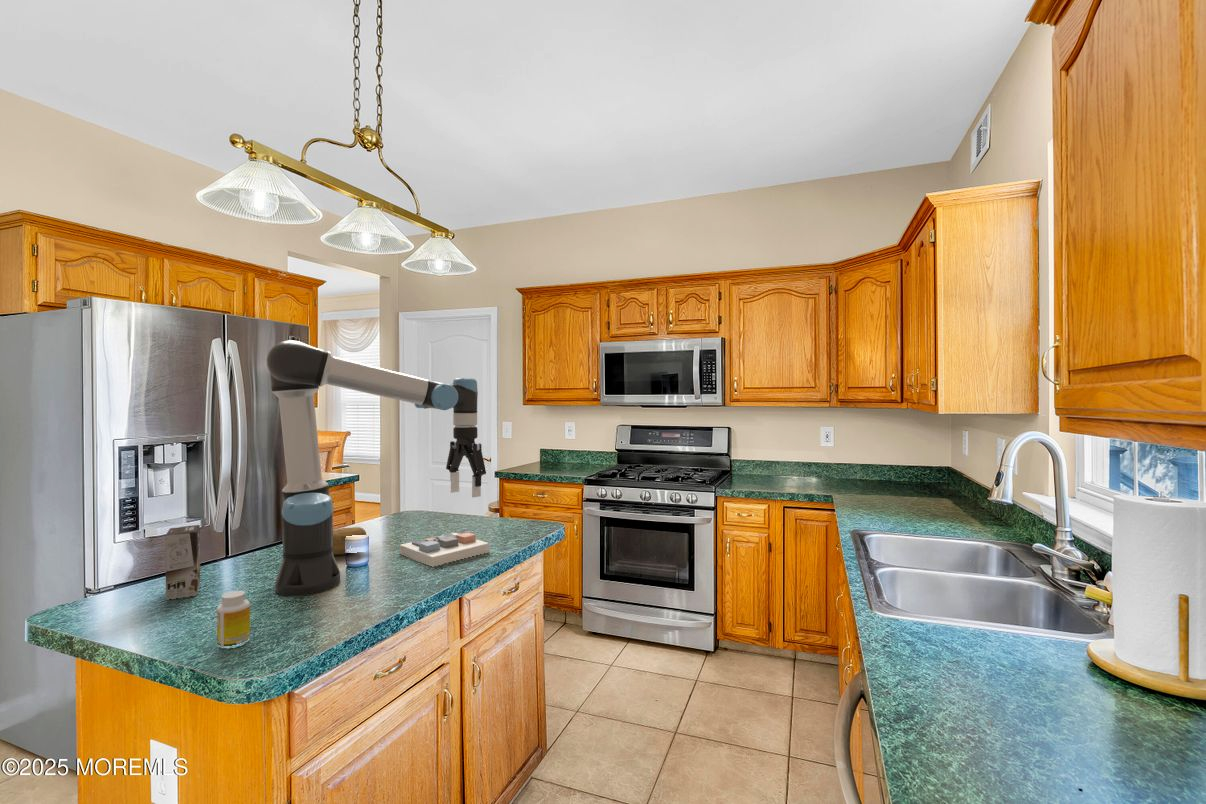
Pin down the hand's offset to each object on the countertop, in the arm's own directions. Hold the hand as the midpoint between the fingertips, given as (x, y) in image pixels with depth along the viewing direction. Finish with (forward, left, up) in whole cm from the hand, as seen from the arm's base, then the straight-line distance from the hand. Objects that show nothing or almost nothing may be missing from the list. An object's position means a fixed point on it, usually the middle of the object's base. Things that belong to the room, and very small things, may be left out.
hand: (465, 494), depth 177 cm
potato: (-28, +25, -18) cm, 42 cm away
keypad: (-6, +2, -18) cm, 19 cm away
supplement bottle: (-69, -21, -18) cm, 75 cm away
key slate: (-13, 0, -16) cm, 21 cm away
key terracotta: (0, 0, -16) cm, 16 cm away
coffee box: (-69, +21, -18) cm, 75 cm away
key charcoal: (-6, 0, -16) cm, 17 cm away
